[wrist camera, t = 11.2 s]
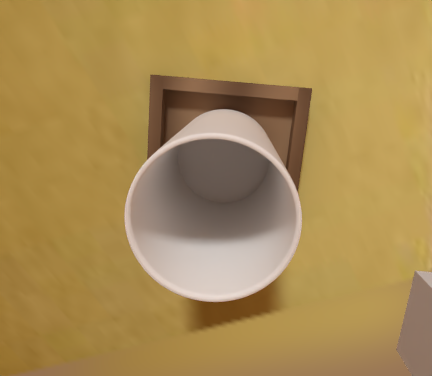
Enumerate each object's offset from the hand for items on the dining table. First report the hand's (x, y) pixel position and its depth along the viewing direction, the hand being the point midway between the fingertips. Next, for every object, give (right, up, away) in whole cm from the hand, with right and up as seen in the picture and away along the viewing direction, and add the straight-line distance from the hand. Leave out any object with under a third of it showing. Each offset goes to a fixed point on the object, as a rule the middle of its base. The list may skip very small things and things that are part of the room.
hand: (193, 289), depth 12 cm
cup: (+1, +6, +22) cm, 22 cm away
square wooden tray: (+1, +6, +22) cm, 23 cm away
